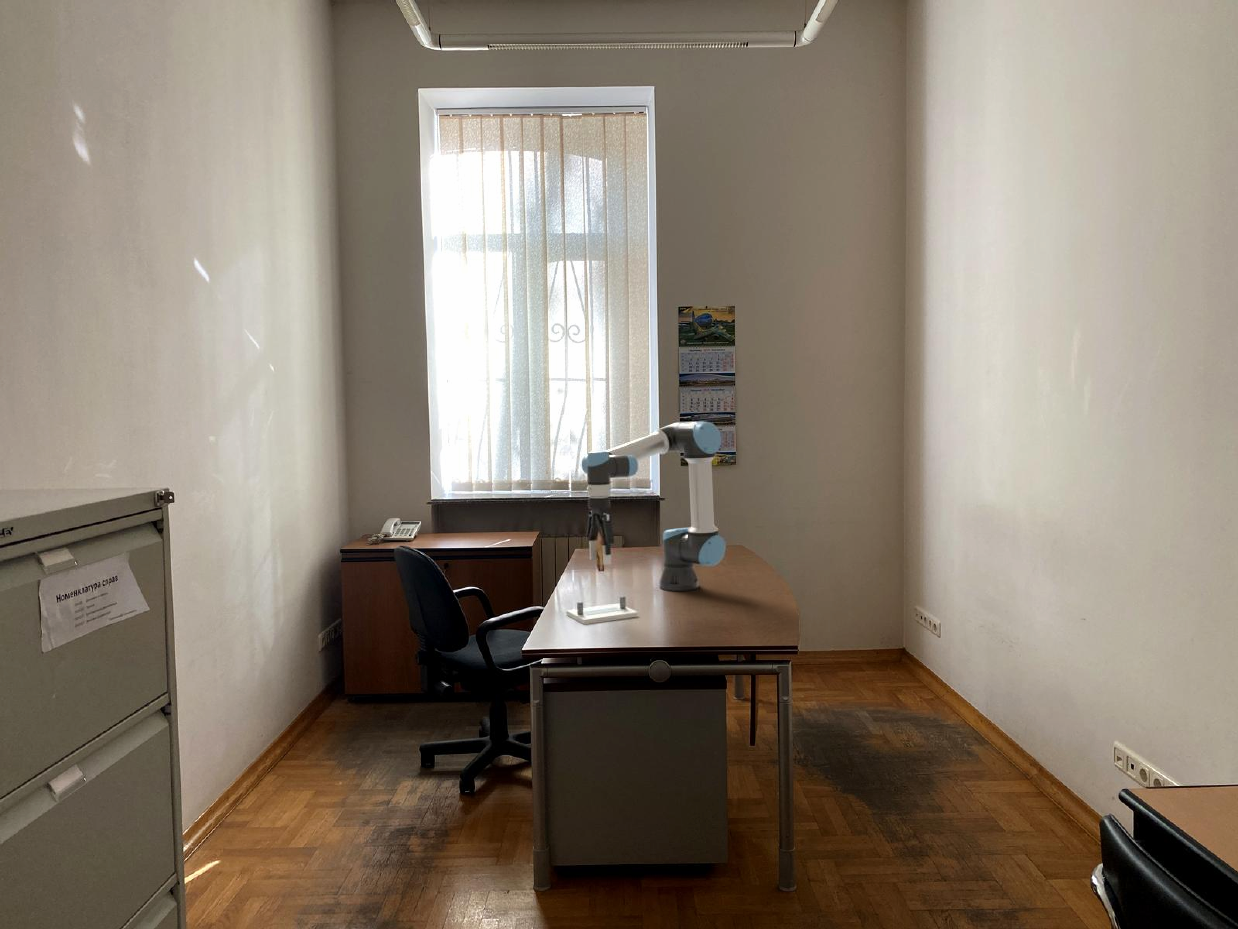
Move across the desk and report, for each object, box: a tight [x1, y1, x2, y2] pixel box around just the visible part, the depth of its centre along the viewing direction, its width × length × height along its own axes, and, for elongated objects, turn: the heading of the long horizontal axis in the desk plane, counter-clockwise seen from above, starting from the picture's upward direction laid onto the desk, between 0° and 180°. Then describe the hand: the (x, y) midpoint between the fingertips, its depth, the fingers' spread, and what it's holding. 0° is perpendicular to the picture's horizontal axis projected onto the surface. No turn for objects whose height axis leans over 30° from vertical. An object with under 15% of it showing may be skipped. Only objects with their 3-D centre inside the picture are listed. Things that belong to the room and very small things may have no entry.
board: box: [565, 595, 639, 625], centre depth 293 cm, size 20×15×6 cm
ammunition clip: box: [596, 531, 605, 572], centre depth 292 cm, size 11×2×12 cm, turn 4°
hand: (600, 561), depth 292 cm, fingers closed on ammunition clip, 10 cm apart
